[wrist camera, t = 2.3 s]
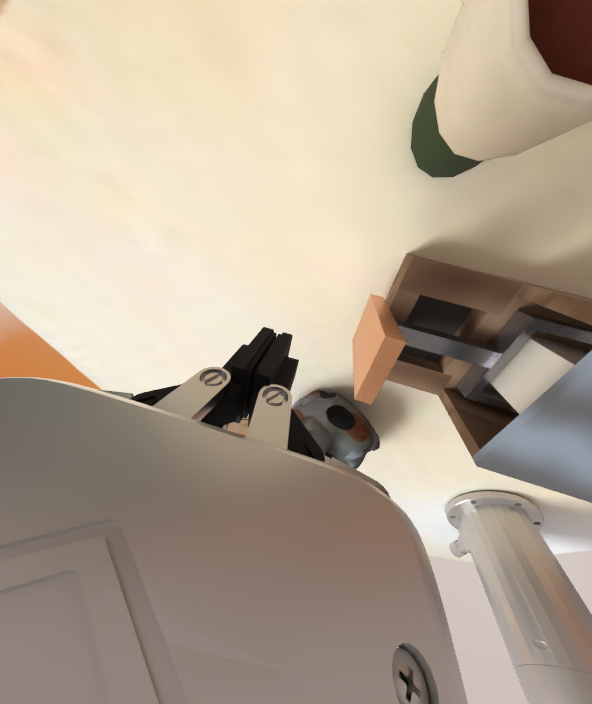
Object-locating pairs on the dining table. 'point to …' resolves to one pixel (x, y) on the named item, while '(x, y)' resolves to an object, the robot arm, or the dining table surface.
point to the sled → (444, 350)
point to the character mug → (505, 83)
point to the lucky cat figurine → (337, 427)
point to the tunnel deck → (478, 418)
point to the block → (534, 371)
